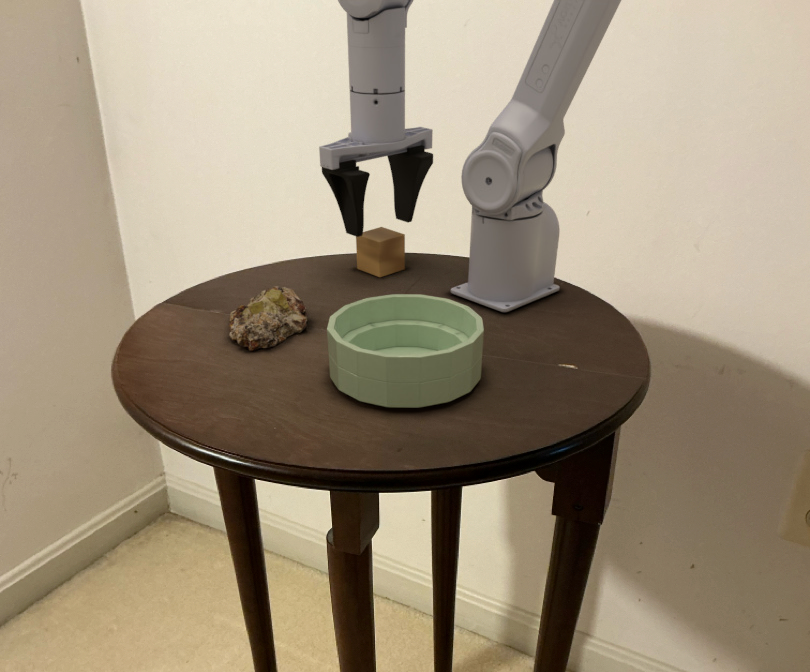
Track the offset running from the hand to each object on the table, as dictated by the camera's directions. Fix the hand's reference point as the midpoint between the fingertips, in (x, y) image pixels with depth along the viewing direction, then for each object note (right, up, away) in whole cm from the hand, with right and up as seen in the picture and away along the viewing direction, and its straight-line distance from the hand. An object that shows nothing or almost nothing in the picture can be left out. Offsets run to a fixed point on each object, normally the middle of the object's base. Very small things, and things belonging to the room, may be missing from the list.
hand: (379, 227), depth 87 cm
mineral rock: (-11, -15, -11) cm, 21 cm away
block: (0, -4, +3) cm, 5 cm away
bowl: (+3, -21, -19) cm, 28 cm away
